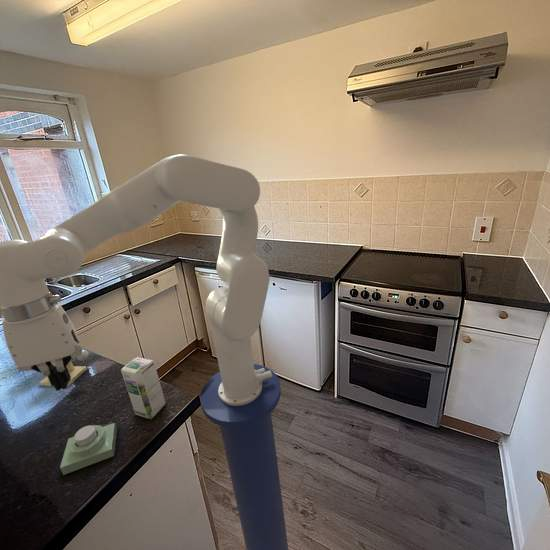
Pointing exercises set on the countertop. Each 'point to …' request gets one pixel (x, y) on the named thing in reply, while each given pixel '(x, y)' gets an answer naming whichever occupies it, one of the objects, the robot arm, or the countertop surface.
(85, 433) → the white round push button
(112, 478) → the countertop surface
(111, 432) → the green push button base
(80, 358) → the flush lever
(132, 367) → the syrup box
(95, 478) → the countertop surface
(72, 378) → the lever bracket
